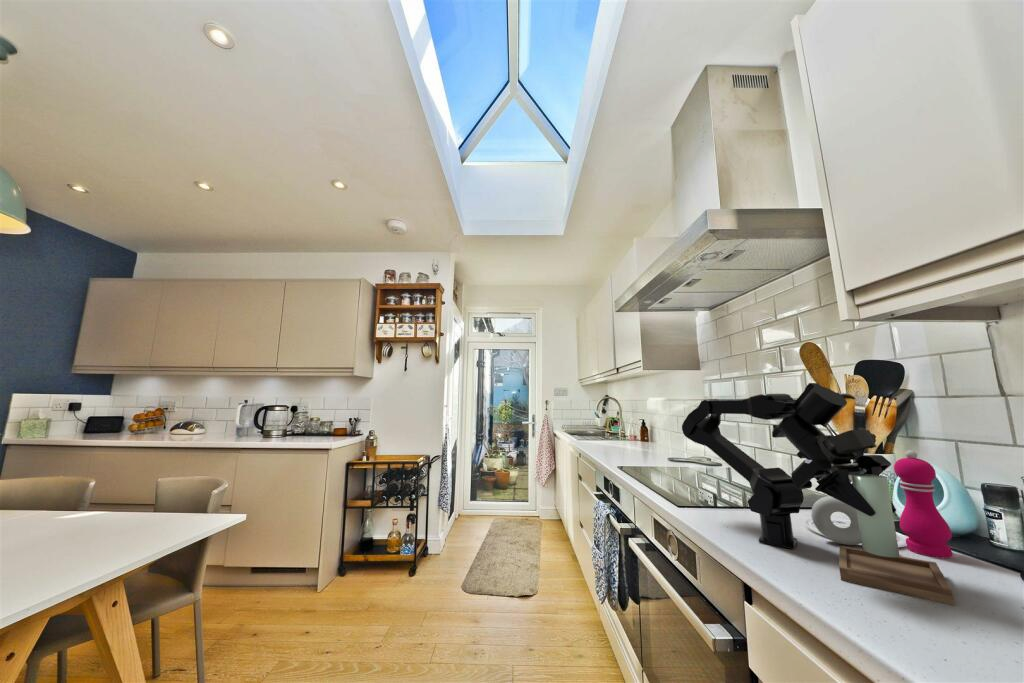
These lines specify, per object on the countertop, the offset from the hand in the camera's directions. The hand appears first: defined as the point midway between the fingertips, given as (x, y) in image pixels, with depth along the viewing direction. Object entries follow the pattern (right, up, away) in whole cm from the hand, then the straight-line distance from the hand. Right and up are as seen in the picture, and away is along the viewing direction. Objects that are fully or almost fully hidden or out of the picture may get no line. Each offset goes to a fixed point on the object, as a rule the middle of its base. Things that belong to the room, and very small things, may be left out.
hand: (883, 513), depth 64 cm
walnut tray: (+2, -12, +1) cm, 12 cm away
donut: (+8, -14, +16) cm, 23 cm away
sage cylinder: (0, -7, 0) cm, 7 cm away
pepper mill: (+21, -13, +12) cm, 27 cm away
